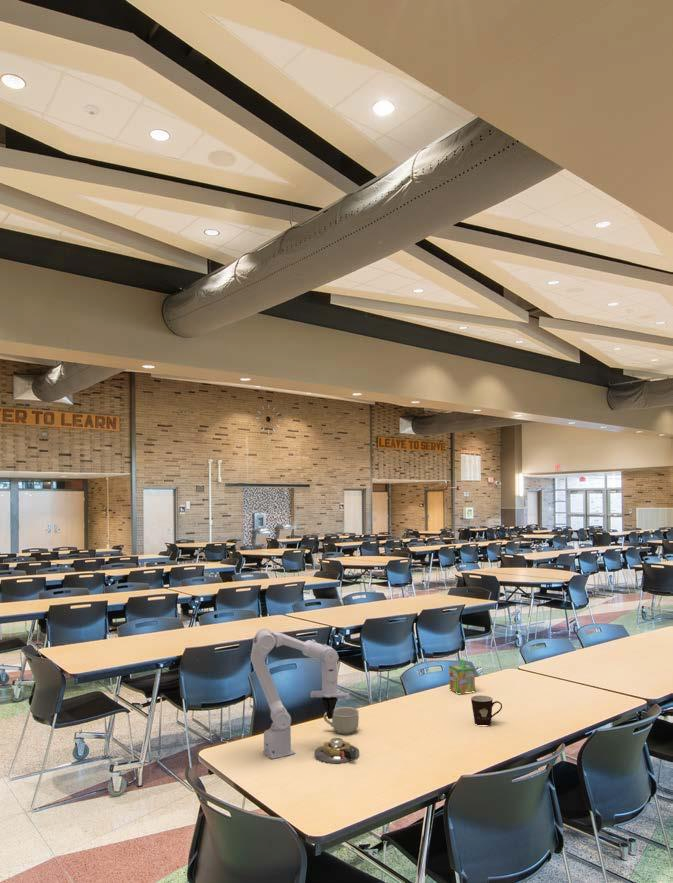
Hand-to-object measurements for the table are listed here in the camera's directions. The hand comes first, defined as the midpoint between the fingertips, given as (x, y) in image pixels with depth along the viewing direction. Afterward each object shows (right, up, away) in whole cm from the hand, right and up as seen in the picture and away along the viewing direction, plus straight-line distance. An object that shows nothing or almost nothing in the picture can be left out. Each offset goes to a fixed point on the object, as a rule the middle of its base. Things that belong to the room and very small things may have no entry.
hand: (330, 718), depth 241 cm
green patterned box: (+62, -17, +67) cm, 93 cm away
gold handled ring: (+4, -8, -11) cm, 14 cm away
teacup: (+4, -12, +16) cm, 20 cm away
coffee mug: (+63, -11, +20) cm, 67 cm away
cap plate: (+2, -9, -9) cm, 13 cm away
